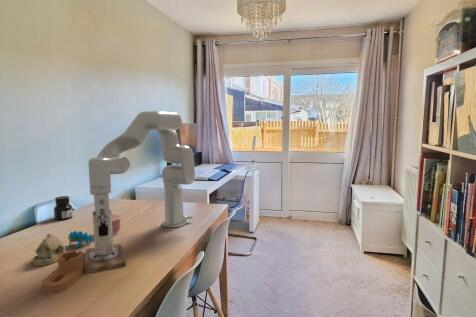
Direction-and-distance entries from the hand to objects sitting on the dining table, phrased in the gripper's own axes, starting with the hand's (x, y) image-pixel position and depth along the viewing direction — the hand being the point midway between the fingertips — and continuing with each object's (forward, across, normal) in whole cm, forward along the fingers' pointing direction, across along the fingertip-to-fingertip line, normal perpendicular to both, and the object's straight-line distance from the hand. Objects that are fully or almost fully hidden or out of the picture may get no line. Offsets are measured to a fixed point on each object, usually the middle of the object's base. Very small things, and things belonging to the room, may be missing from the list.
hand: (102, 231), depth 125 cm
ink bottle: (+11, +67, +18) cm, 70 cm away
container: (+12, +30, -4) cm, 32 cm away
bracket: (+12, -12, +13) cm, 21 cm away
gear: (+12, +20, +9) cm, 25 cm away
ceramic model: (+12, +10, +20) cm, 25 cm away
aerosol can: (+9, 0, 0) cm, 9 cm away
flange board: (+11, 0, 0) cm, 11 cm away
